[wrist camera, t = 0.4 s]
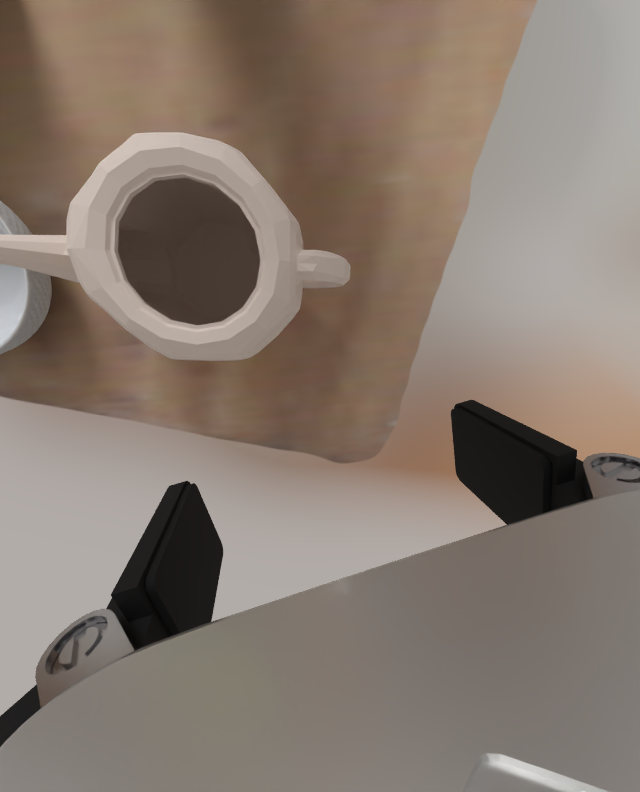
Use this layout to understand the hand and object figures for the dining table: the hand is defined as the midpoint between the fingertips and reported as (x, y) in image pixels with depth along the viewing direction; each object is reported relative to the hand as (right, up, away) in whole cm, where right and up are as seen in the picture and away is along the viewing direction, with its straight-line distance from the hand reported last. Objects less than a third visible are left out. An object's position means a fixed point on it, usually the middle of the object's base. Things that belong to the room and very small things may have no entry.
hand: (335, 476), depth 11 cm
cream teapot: (-13, +17, +25) cm, 33 cm away
